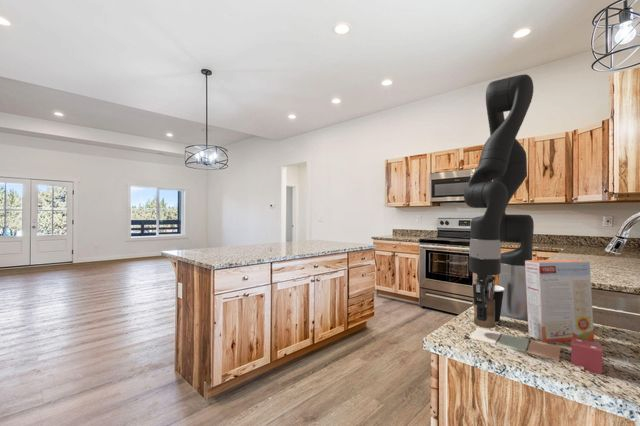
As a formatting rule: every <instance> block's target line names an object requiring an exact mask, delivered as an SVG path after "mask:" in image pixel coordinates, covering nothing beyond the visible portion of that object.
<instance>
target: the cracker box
mask: <svg viewBox="0 0 640 426" xmlns="http://www.w3.org/2000/svg"><path fill="white" fill-rule="evenodd" d="M525 274H526V294H527V314H528V320H527V329H528V332H527V333H528V334H529V335H530V336H532V337H534V338H535V339H537V340H539V341H540V342H542V343H557V342H559V343H561V342H562V343H563V342H566V343H567V342H570V343H572V337H573V338H578V339H582V340H587V341H592V342H595V332H594V330H595V328H594V316H593V315H594V314H593V299H592V296H593V295H592V282H591V281H592V280H591V279H592V278H591V263H590V261H585V260H579V259H532V260H526V261H525Z"/></svg>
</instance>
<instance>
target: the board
mask: <svg viewBox="0 0 640 426" xmlns="http://www.w3.org/2000/svg"><path fill="white" fill-rule="evenodd" d="M501 334H502V335H501ZM468 338H470V339H473V340H478V341H480V342H485V343H488V344H491V345H492V344H493V345H495V344H496V345H497V346H501V347H504V348H509V349H512V350H516V351H520V352H523V353H525V352H526V351H527V353H528V354H532V355H536V356H540V357H543V358H548V359H551V360H555V361H560V356H561V347H562V346H558V345H556V344H555V345H554V344H550V343H547V342H543V341H538V340H533V339H531V340H530V339H528V338H525V337H521V336H515V335H513V334H512V335H511V334H508V333H507V334H506V333H502V332H499V331H495V330H489V329H488V328H483V327H479V326H478V327H476V328H475V330H474V331H473V332H472V334H471V335H469V337H468ZM529 341H530V342H529ZM527 347H528V349H527Z"/></svg>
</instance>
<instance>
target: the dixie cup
mask: <svg viewBox="0 0 640 426" xmlns="http://www.w3.org/2000/svg"><path fill="white" fill-rule="evenodd" d="M504 290H505V289H504V288H503V287H501V286H499V285H498V284H497V285H496V284H495V289H494V298H493V299H494V300H495V325H496V324H499V322H500V321H501V315H500V314H501V307H502V299H503V292H504Z"/></svg>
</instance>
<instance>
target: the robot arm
mask: <svg viewBox="0 0 640 426" xmlns="http://www.w3.org/2000/svg"><path fill="white" fill-rule="evenodd" d="M533 96H534V81H533V79H532V77H531V76H530V75H528V74H518V75H513V76H510V77H505V78H501V79H498V80H492V81H491V82H489V84H488V85H487V86H486V90H485V107H486V114H487V120H488V126H489V135H490V136H489V137H488V139H486V141H485V143H484V144H483V146H482V150H481V154H480V158H479V161H478V164H477V165H478V166H477V167H476V168H475V170H474V172H473V173H472V175H471V177H470V179H469V180H468V181H467V184H466V186H465V188H464V191H463V200H464V202H465V204H466V205H467V206H468V207H470V208H473V209H486V210H485V212H484V214H483V215H480V216H477V217H473V218H472V219H471V220H470V240H469V249H468V251H469V256H468V257H469V258H468V259H469V261H468V262H469V267H468V268H469V269H468V270H469V272H470V273H472V274H476V279H474V283H473V284H472V293H473V306H474V305H476V306H477V319H478V320H482V321H486V320H487V300H488V299H489V298H490V290H492V292H493V297H492V299H493V298H494V289H495V285H496V276H498V286H501V287H503V288H504V289H505V290H504V292H503V299H502V307H501V314H500V317H503V318H509V319H512V320H513V319H515V320H519V321H528V314H527V294H526V274H525V261H526V260H533V240H534V230H535V229H534V227H535V225H534V218H533V217H532V216H531V215H530V214H508V213H507V214H506V209H507V206H508V204H509V203H510V201H511V200H512V198H513V196H514V195H515V194H516V192H517V191H518V189H519V188H520V187H521V186H522V184H523V182H525V179H526V178H527V174H528V164H527V160H528V159H527V153H526V149H524V147H523V146H522V144H521V143H520V142H519V141H518V139H516V138H517V135H518V134H519V132H520V129H521V127H522V124H523V122H524V120H525V118H526V115H527V112H528V110H529V107H530V106H531V103H532V99H533ZM505 112H509V113H508V115H507V116H506V118H505V114H504V113H505ZM501 243H514V244H515V243H517V244H520V246H519V247H518V248H516V249H513V250H511V251H509V250H508V251H506V252H505V251H504V252H502V247H501ZM486 293H487V294H486ZM485 294H486V295H485ZM479 298H481V299H482V301H479Z"/></svg>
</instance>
